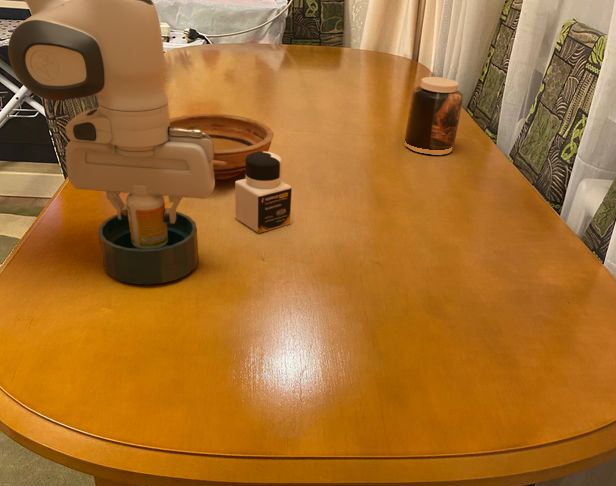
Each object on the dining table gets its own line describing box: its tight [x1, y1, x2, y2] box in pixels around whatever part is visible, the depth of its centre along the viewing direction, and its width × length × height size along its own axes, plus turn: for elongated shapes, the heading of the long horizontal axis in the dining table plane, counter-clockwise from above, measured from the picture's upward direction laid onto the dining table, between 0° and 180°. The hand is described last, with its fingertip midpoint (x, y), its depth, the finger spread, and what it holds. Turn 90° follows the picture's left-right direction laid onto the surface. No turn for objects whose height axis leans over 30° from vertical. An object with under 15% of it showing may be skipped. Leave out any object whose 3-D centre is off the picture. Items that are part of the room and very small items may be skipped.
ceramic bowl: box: [169, 113, 274, 181], centre depth 124 cm, size 30×24×8 cm
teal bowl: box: [97, 211, 200, 285], centre depth 92 cm, size 14×14×6 cm
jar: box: [404, 76, 464, 150], centre depth 141 cm, size 12×12×15 cm
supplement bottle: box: [125, 185, 168, 249], centre depth 89 cm, size 5×5×10 cm
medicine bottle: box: [234, 151, 293, 234], centre depth 104 cm, size 7×7×12 cm
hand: (147, 220), depth 89 cm, fingers closed on supplement bottle, 5 cm apart
